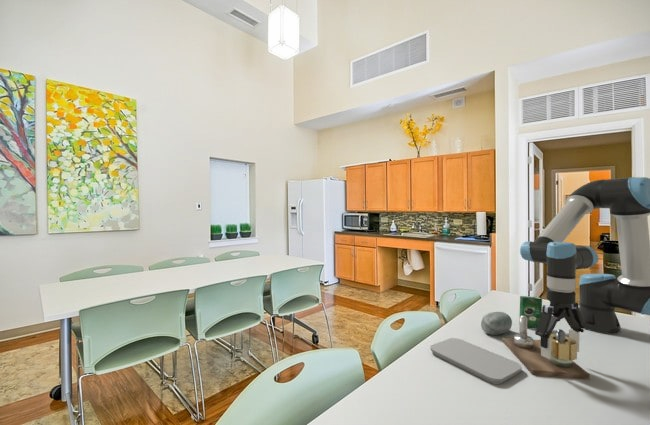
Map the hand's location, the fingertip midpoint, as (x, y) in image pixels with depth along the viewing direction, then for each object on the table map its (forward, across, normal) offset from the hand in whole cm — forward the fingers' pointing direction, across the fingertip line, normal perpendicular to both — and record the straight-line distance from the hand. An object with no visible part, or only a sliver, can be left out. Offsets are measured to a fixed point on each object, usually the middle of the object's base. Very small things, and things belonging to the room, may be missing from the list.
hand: (560, 353), depth 100 cm
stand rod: (+3, -1, -13) cm, 14 cm away
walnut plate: (+5, 0, -7) cm, 8 cm away
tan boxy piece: (0, 0, 0) cm, 0 cm away
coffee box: (+5, -24, -28) cm, 37 cm away
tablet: (+5, +23, -14) cm, 27 cm away
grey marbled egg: (+5, -5, -28) cm, 29 cm away
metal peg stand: (+3, 0, 0) cm, 3 cm away
